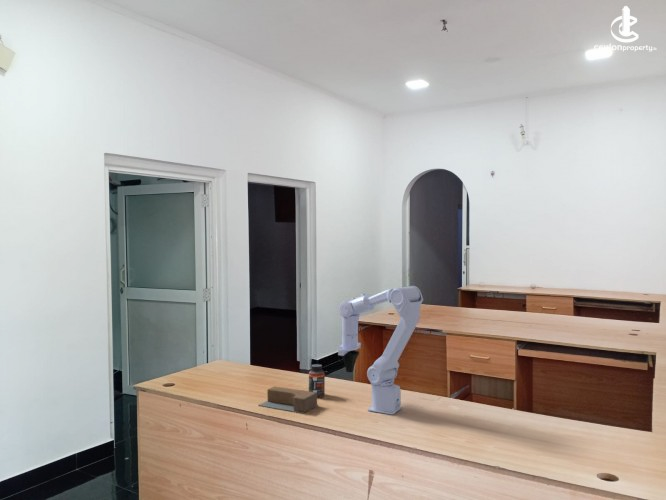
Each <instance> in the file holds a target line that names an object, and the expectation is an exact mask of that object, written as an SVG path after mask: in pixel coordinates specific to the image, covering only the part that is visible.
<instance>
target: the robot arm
mask: <svg viewBox="0 0 666 500" xmlns="http://www.w3.org/2000/svg"><path fill="white" fill-rule="evenodd" d="M423 301H424V298H423V295H422V291H421V289H420V288H419V287H417V286H415V285H410V286H405V287H403V286H402V287H393V288H389V289H386V290H383V291H380V292H379V293H376V294H374V295H371V294H366V293H362V294H360V296H358V297H351V299H350V300H343V301H342V302H341V303H340V304H339V306H338V312H339V315H340V316H341V317H342V318H341V344H340V345H338V347H339V349H338V350H337V351H338V353H337V355H338V356H340V357H341V358H342V360H343V363H344V364H343V365H344V366H345V371H346V372H347V373H353V372H354V368H355V364H356V361H357V358H358V356H359V355H360V351H358V350H359V349H360V350H361V345H362V343H361V342H359V320H360V315H362V314H364V313H367V312H370V311H372V310H373V309H375V305H380V304H383V303H386V302H388V303H391V304H392V306H393V308H394V310H395V311H396V313H397V314H398V316H399V317H400V320H399V322H398V324H396V325H397V326H396V327H395V330H394V331H393V333H392V336H391V337H390V339H389V340H388V343H387V345H386V347H385V348H384V351H383V353H382V355H381V356H380V357H378V358H377V359H376V360H375V361H374V362H373V364H372V365H371V366H369V367H368V369H367V372H366V376H367V379H368V381H369V382H370V385H371V406H370V407H368V408H367V410H366V411H368V412H374V413H381V414H387V415H395V414H396V413H397V412H400V410H401V409H402V406H401V405H402V404H401V403H402V402H401V401H402V400H401V393H402V391H401V387H400V386H399V385H397V384H395V383H394V382H395V379H396V378H397V376H398V370H399V367H400V364H399V361H398V360H399V359H400V357H401V355H402V353H403V351H404V350H405V347H407V345H408V343H409V340H410V339H411V336H412V335H413V333H414V330H415V329H416V327H417V325H418V324H419V321H420V319H421V318H420V316H421V315H420V314H421V306H422V303H423Z"/></svg>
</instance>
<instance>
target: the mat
mask: <svg viewBox="0 0 666 500" xmlns="http://www.w3.org/2000/svg"><path fill="white" fill-rule="evenodd" d="M258 407H263V408H268V409H269V408H270V409H275V410H279V411H286V412H292V413H298V414H305V413H307V412H308V411H310V410H311V409H313V408H315V407H318V403H317V405H316V406H314V407H312V408H311V409H309V410H307V411H306V412H301V411H295V410H294V406H293V405H288V404H281V403H275V402H269V401H268V400H266V401H264V402H263V403H259V404H258Z"/></svg>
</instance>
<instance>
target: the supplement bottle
mask: <svg viewBox="0 0 666 500" xmlns="http://www.w3.org/2000/svg"><path fill="white" fill-rule="evenodd" d="M310 366H311V370H310V371H309V372H308V391H311V392H317V398H323V396H325V393H326V392H325V391H326V390H325V389H326V388H325V383H326V382H325V378H326V377H325V374H326V373H325V371H324V370H323V365H322V364H319V363H316V364H315V363H314V364H311V365H310Z"/></svg>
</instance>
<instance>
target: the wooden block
mask: <svg viewBox="0 0 666 500" xmlns="http://www.w3.org/2000/svg"><path fill="white" fill-rule="evenodd" d="M266 391H267V401H269V402H275V403H281V404H288V405H293V406H294V410H295V411H301V412H305V413H307V412H308V411H310V410H311V408H312V407H314V406H315V407H317V406H318V405H317V404H318V397H317V392H311V391H309V390H303V389H295V388H288V387H281V386H272V387H269V388H268V389H267V390H266ZM316 405H317V406H316ZM315 407H314V408H315ZM309 409H310V410H309ZM312 409H313V408H312ZM307 410H308V411H307ZM306 411H307V412H306Z"/></svg>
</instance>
